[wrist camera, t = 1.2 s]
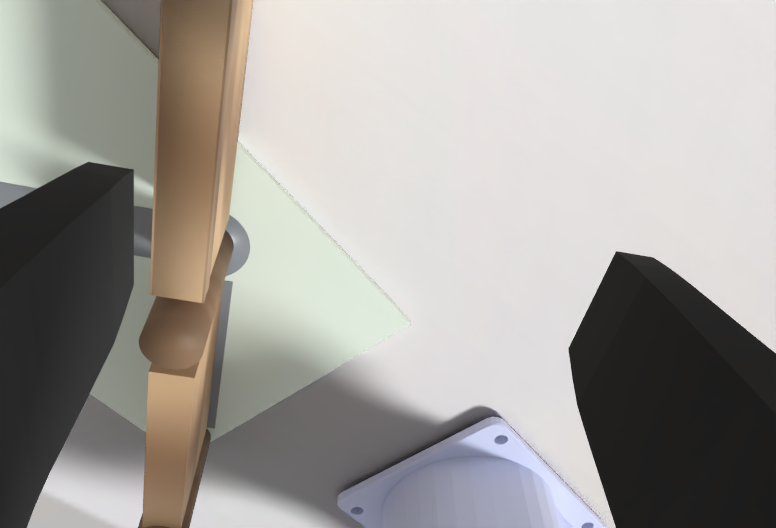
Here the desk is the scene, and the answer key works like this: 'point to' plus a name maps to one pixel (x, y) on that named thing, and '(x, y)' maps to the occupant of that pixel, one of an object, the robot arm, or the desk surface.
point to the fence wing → (195, 139)
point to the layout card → (137, 151)
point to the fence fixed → (179, 398)
